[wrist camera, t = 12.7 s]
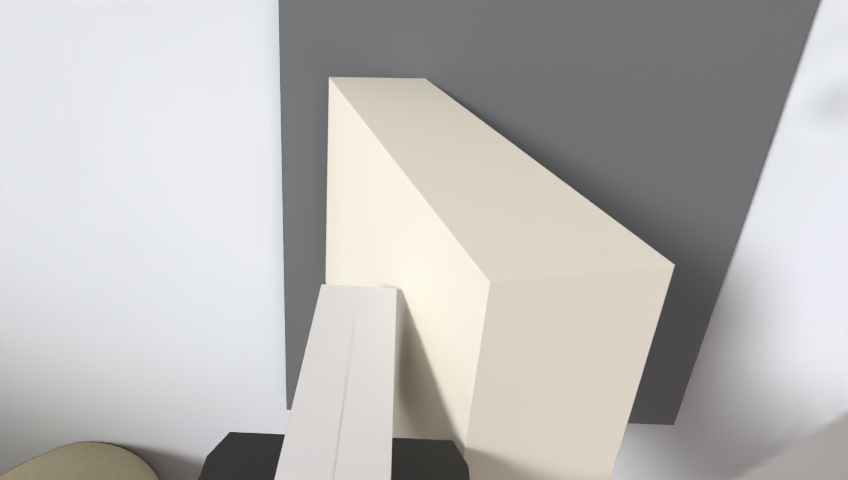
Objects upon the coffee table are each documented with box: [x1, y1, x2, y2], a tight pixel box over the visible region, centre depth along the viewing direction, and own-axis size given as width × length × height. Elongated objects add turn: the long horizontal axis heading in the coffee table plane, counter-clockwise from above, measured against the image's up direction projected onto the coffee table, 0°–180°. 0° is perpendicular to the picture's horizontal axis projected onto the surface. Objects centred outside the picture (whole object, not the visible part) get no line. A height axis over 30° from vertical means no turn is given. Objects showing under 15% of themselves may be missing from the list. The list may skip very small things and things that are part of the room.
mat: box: [279, 0, 818, 425], centre depth 21 cm, size 16×22×1 cm
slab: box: [325, 77, 675, 480], centre depth 15 cm, size 3×7×12 cm, turn 175°
